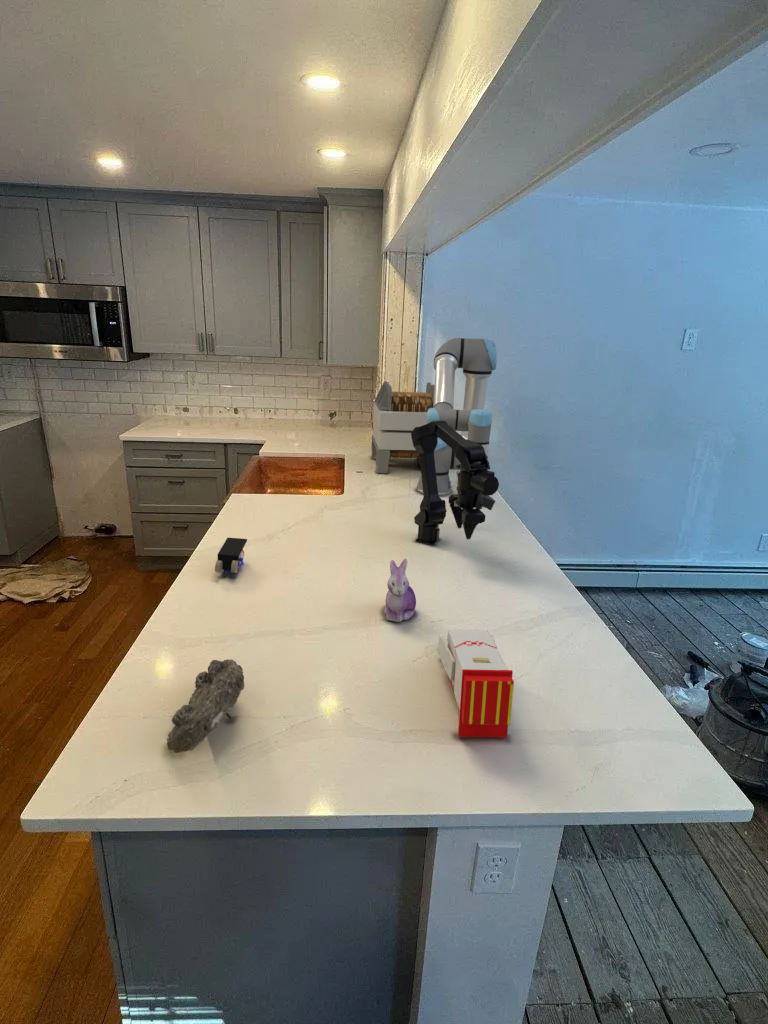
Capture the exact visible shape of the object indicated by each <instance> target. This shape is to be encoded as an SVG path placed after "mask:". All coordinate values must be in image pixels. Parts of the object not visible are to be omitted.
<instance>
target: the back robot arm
mask: <svg viewBox="0 0 768 1024" xmlns="http://www.w3.org/2000/svg"><path fill="white" fill-rule="evenodd" d="M432 363H433V368H434V371H435V372H434V373H435V374H434V375H435V376H434V385H435V387H434V401H433V408H429V409H428V414H427V424H428V423H430V422H432V421H437V420H444V421H446V422H447V424H448V425H449V426H450V427H451V428H453V429H454V430H455V431H456V432H460V435H461V436H462V437H464V438H465V439H467V440H469V441H473V442H476V443H478V444H480V445H482V446H483V448H484V451H485V453H486V456H487V459H488V460H489V458H488V455H489V451H490V450H489V449H490V448H489V447H490V438H491V430H492V424H493V413H492V411H491V410H489V409H485V406H486V395H487V386H488V379H489V378H490V377H491V376H492V373H493V371H495V370H497V345H496V343H495V341H494V340H493V339H487V338H465V337H455V338H450V339H448V340H447V341H445V342H444V343H443V344H442V345H440V347H439V348H438V349H437V351H436V352H435V354H434V357H433V362H432ZM457 369H462V374H463V375H464V377H465V384H464V385H465V387H464V395H463V396H464V397H463V408H462V409H454V404H455V380H456V370H457ZM434 458H435V468H436V477H437V486H438V495H439V497H445V496H450V495H452V489H453V488H452V481H451V480H450V470H455V471H456V474H455V475H456V477H457V486H456V488H457V487H459V480H460V469H458V468H456V466H457V465H458V464H460V462H459V460H458V459H457V458H456V457H455V451H454V450H453V449H452V448H450V447H449V446H448V445H447V444H446V443H445V442H444V441H442V440H441V439H440V438H438V444H437V446H436V448H435V451H434ZM419 460H420V458H416V465H417V467H418V468H419V470H421V467H420V462H419ZM479 464H481V463H479ZM479 464H470V465H479ZM457 470H458V471H457ZM416 491H417V492H418V493H419V494H421V495H423V485H422V476H421V475H420V477H419V479H418V482H417V484H416ZM456 494H458V491H457V490H456ZM476 509H480V510H482V509H483V507H482V506H480V507H479V508H476Z"/></svg>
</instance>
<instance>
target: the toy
mask: <svg viewBox="0 0 768 1024" xmlns="http://www.w3.org/2000/svg"><path fill="white" fill-rule="evenodd" d="M446 640H447V643H446V641H445V639H444V636H443V635H442V634H439V637H438V646H437V656H438V657H439V659H440V661H441V663H442V666H443V668H444V670H445V672H446V674H447V677H448V679H449V681H450V684H451V687H452V690H453V693H454V697H455V701H456V705H457V708H458V711H459V714H458V715H459V716H458V730H457V731H458V732H457V737H458V738H508V731H509V726H510V725H511V717H512V707H513V697H514V696H513V695H514V684H515V680H514V679H513V673H514V671H513V670H512V669H508V667H507V665H506V662H505V661H504V659H503V658H502V655H501V653H500V651H499V649H498V647H497V643H496V639H495V637H494V635H493V634H491V632H490V631H489V629H467V628H466V629H465V628H463V629H461V628H460V629H459V628H448V630H447V639H446Z"/></svg>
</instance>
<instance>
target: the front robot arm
mask: <svg viewBox="0 0 768 1024" xmlns="http://www.w3.org/2000/svg"><path fill="white" fill-rule="evenodd" d="M411 438H412V441H413V446H414V448H415V449H416V450H417V452H418V453H419V465H420V467H421V469H420V477H421V476H422V485H423V494H422V495H423V497H422V500H421V502H420V504H419V512H418V513H417V514H416V515H415V516H413V517H414V524H416V525H417V526H418V527H417V538H416V539H415V542H417V543H421V544H425V545H430V546H435V544H436V543H437V542H438V541H439V540H440V532H441V528H439V526H440V525H443V524H444V521H445V518H446V516H447V512H448V511H447V508H446V506H447V505H446V501H445V499H442V497H441V496H439V495H438V486H437V477H436V468H435V458H434V451H435V448H436V446H437V444H438V438H440V439H441V440H442V441H444V442H445V443H446V444H447V445H448V446H449V447H450V448H452V449H453V450H454V451H455V457H456V458H457V459H458V460H459V462H460V464H458V465H457V466H456V468H458V469H460V470H459V472H460V480H459V487H457V486H456V492H457V491H458V494H457V493H451V494H449V495H448V504H449V508H450V510H451V513H452V516H453V518H454V522H455V524H456V527H457V529H462V528H463V531H464V535H465V539H466V540H471V538H472V536H473V534H474V531H475V529H476V528H477V526H478V525H479V524H483V523H485V522H486V514H485V513H484V512H483V511H482V509H473V508H474V507H475V508H479V507H480V506H482V508H485V509H487V510H488V511H492V509H493V507H494V505H495V503H496V500H495V499H494V498H493V497H492V496H493V495H494V494H496V492H497V491H498V489H499V487H500V483H499V479H498V478H497V476H495V471H493V470H491V466H490V461H489V458H488V459H487V457H488V455H487V456H486V453H485V451H484V448H483V446H482V445H480V444H478V443H476V442H473V441H469V440H467V439H465V438H464V437H462V436H461V433H459V432H458V431H455V430H454V429H453V428H451V427H450V426H449V425H448V424H447V422H446V421H444V420H437V421H432V422H430V423H428V424H426V425H423V426H420V427H415V428H414V430H413V431H412V433H411ZM479 463H481V464H479ZM470 464H479V465H470Z"/></svg>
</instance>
